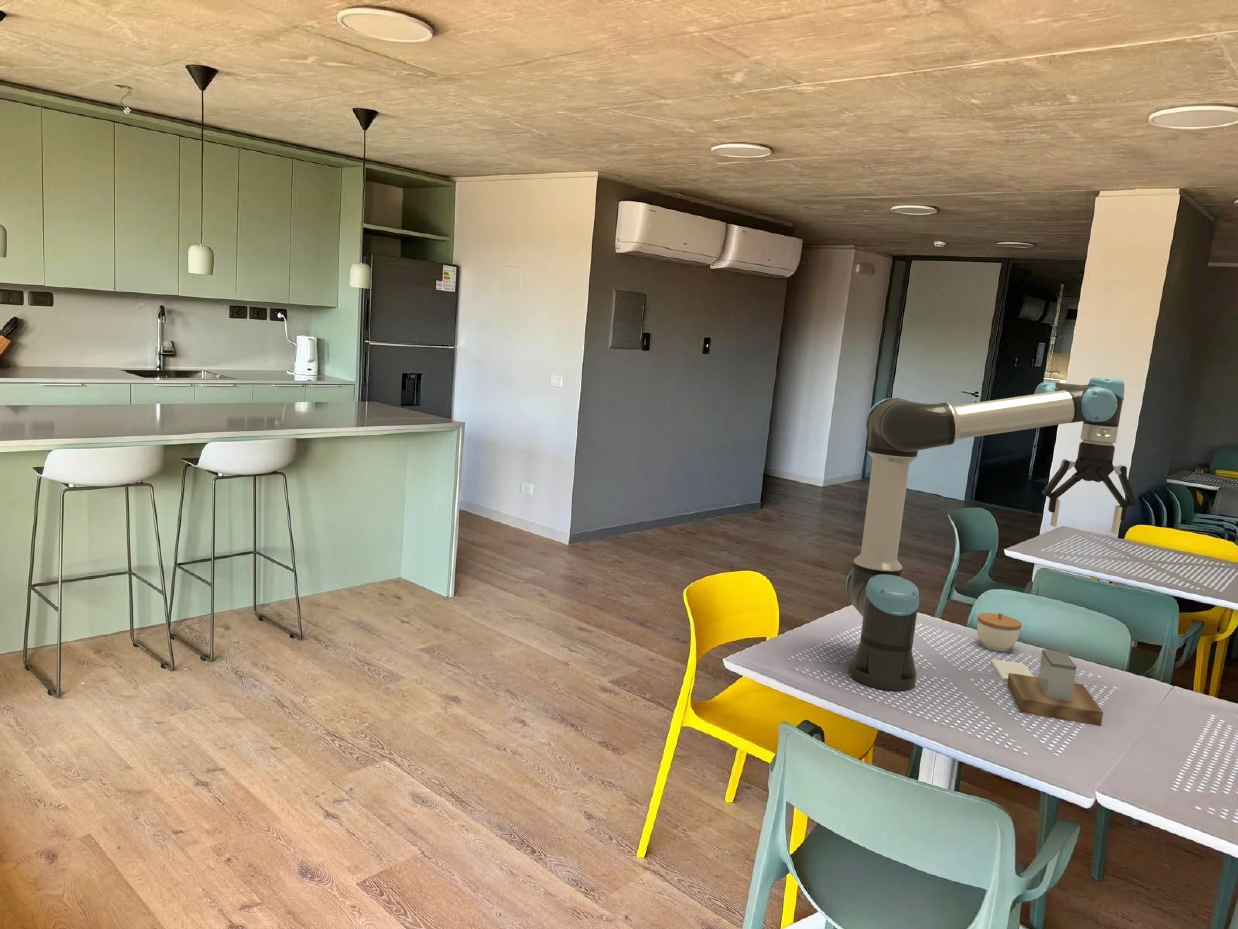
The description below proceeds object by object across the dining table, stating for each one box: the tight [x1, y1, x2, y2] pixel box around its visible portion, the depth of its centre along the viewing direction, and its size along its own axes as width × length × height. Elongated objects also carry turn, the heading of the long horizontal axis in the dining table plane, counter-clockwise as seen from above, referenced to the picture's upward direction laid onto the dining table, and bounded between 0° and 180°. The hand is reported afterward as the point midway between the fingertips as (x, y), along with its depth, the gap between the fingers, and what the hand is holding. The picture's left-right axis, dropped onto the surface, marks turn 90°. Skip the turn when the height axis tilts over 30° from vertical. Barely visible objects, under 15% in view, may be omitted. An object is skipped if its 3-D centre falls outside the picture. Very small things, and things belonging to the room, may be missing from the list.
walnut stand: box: [1006, 673, 1104, 726], centre depth 192 cm, size 16×16×3 cm
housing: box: [1037, 649, 1078, 702], centre depth 191 cm, size 5×9×8 cm, turn 165°
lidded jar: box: [976, 612, 1022, 652], centre depth 228 cm, size 11×11×9 cm
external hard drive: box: [989, 659, 1035, 683], centre depth 209 cm, size 2×8×12 cm
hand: (1083, 529), depth 207 cm, fingers open, 13 cm apart
